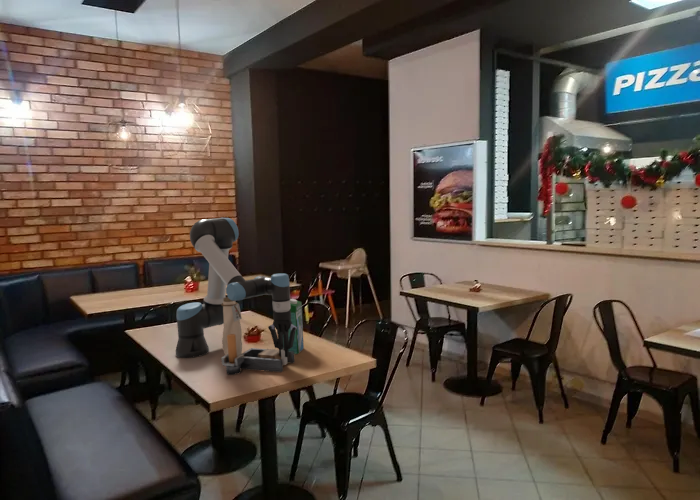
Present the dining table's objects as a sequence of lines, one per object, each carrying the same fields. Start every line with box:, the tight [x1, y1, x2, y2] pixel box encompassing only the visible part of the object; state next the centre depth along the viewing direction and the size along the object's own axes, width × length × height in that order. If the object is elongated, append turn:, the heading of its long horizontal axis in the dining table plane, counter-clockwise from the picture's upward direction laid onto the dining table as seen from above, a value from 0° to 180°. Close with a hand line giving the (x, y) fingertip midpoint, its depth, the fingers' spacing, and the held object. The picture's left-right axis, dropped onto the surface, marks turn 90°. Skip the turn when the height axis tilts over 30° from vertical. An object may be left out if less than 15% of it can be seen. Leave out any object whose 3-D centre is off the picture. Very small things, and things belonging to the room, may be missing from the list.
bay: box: [237, 347, 296, 373], centre depth 226 cm, size 21×13×5 cm, turn 71°
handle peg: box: [227, 334, 237, 363], centre depth 218 cm, size 3×3×12 cm
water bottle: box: [221, 296, 243, 356], centre depth 237 cm, size 10×9×28 cm
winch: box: [221, 354, 244, 376], centre depth 219 cm, size 7×8×7 cm
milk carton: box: [283, 298, 305, 355], centre depth 244 cm, size 9×9×25 cm
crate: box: [258, 348, 281, 359], centre depth 225 cm, size 8×8×6 cm
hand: (284, 363), depth 223 cm, fingers closed
